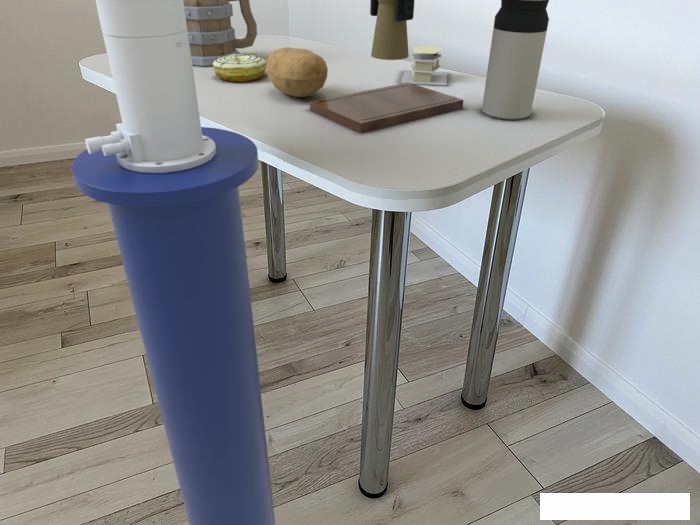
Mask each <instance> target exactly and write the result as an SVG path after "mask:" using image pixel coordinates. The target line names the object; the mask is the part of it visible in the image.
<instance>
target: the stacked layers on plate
mask: <svg viewBox="0 0 700 525" xmlns="http://www.w3.org/2000/svg"><path fill="white" fill-rule="evenodd" d="M442 50H443V47H440V46H414V47H412V51H413V53H412V54H411V58H412V64H411V65H410V67H411V70H412V71H408V70H407V71H405V70H404V71H403V74H402V77H401V80H400V84H403V83H408V82H409V83H412V84H415V85H428V86H447V84H448V72H437V71H438V70H440V69H441V64H440V59H441V58H442V54H440V53H439V52H440V51H442Z"/></svg>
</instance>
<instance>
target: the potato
mask: <svg viewBox="0 0 700 525" xmlns="http://www.w3.org/2000/svg"><path fill="white" fill-rule="evenodd" d="M266 66H267V67H266V74H267V78H268V80H269V81H270V82H271V83H272V85H273V86H274V88H276V89H277V90H278V91H279V92H281V93H283V94H287V95H288V96H291V97H293V98H306V97H310V96H314V95H315V94H316V93H318V91H320V90H321V89H322V88H323V87H324V86H325V83H326V82H327V79H328V72H329V70H328V69H329V68H328V64H327V62H326V61H325V59H324V58H323V57H322V56H320V55H318V54H317V53H315V52H313V51H311V50H309V49H307V48H296V47H281V48H280V47H279V48H277V49H275V50H273V51H272V52H271V53H270V54H269V56H268V57H267V60H266Z"/></svg>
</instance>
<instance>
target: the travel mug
mask: <svg viewBox="0 0 700 525" xmlns="http://www.w3.org/2000/svg"><path fill="white" fill-rule="evenodd" d="M500 2H501V3H500V8H498V11H497V12H496V14H495V15H494V22H493V28H492V34H491V43H490V49H489V57H488V63H487V72H486V78H485V85H484V90H483V91H484V92H483V98H482V105H481V112H483V113H484V114H486V115H487V116H488V117H492V118H496V119H499V120H513V121H514V120H522V119H525V118H527V117H529V116H531V115H532V110H533V105H534V99H535V94H536V90H537V85H538V79H539V73H540V68H541V63H542V58H543V53H544V48H545V43H546V37H547V32H548V26H549V21H550V18H549V15H548V14H549V13H548V11H547V7H548V4H549V2H550V0H500Z"/></svg>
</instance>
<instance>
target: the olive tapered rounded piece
mask: <svg viewBox="0 0 700 525" xmlns="http://www.w3.org/2000/svg"><path fill="white" fill-rule="evenodd" d="M378 2H379V6H378V12H377V16H376V20H375V26H374V33H373V40H372V45H371V46H372V47H371V53H370V57H372V58H374V59H377V60H382V61H383V60H385V61H399V60H405V59H408V58H409V54H410V53H409V41H408V40H409V39H408V24H407V23H408V22H407V21H408V20H406V21H396V20H395V8H396V0H378Z"/></svg>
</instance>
